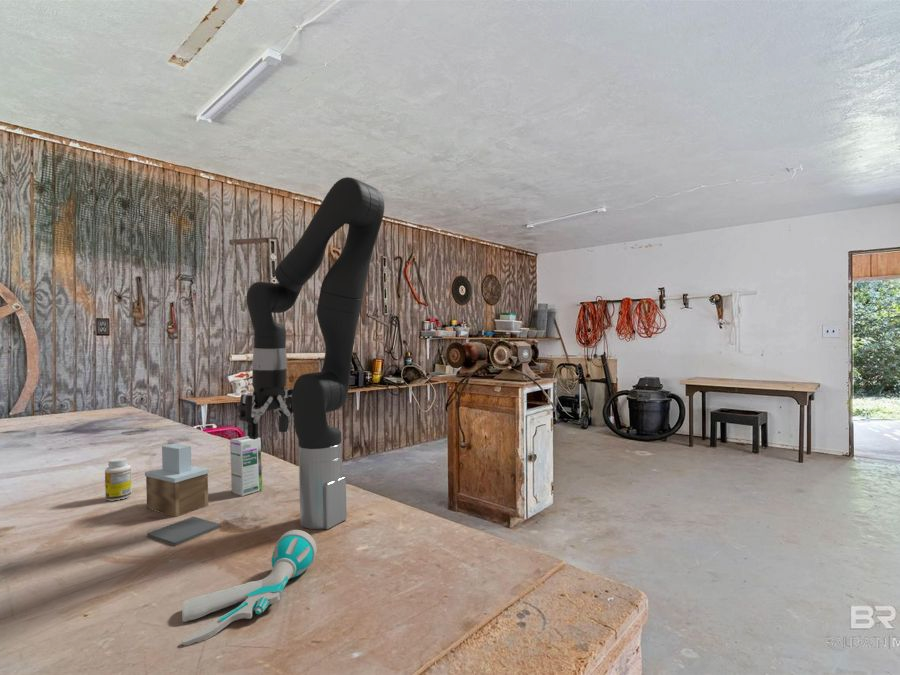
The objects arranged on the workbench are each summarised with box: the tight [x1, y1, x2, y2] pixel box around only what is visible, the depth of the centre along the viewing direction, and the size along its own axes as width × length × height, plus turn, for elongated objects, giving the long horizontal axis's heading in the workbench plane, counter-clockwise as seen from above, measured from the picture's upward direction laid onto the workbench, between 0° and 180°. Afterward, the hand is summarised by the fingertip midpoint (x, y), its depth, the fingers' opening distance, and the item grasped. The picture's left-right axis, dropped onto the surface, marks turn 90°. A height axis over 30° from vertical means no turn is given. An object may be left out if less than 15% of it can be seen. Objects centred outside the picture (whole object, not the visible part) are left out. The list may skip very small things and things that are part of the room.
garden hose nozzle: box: [181, 529, 318, 646], centre depth 72 cm, size 7×18×20 cm
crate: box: [145, 473, 209, 517], centre depth 112 cm, size 12×8×8 cm, turn 62°
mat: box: [146, 516, 222, 546], centre depth 97 cm, size 10×10×1 cm
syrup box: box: [229, 435, 263, 497], centre depth 122 cm, size 6×6×14 cm
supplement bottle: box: [104, 457, 133, 502], centre depth 119 cm, size 6×6×10 cm
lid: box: [144, 443, 210, 483], centre depth 112 cm, size 12×8×8 cm
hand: (268, 435), depth 108 cm, fingers open, 8 cm apart
